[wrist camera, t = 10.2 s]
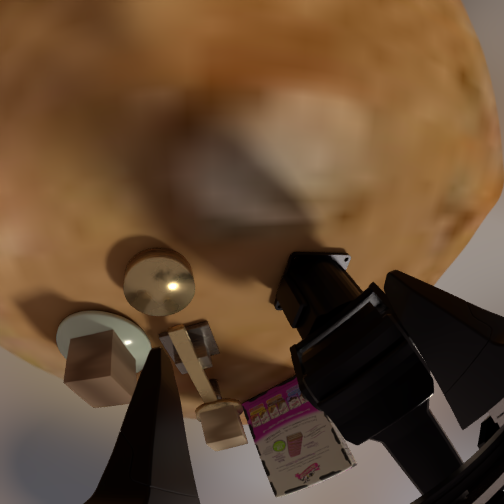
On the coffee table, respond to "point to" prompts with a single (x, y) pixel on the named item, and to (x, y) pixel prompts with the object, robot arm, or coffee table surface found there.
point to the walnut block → (101, 369)
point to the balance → (169, 302)
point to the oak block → (223, 428)
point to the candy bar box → (295, 439)
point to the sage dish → (100, 322)
